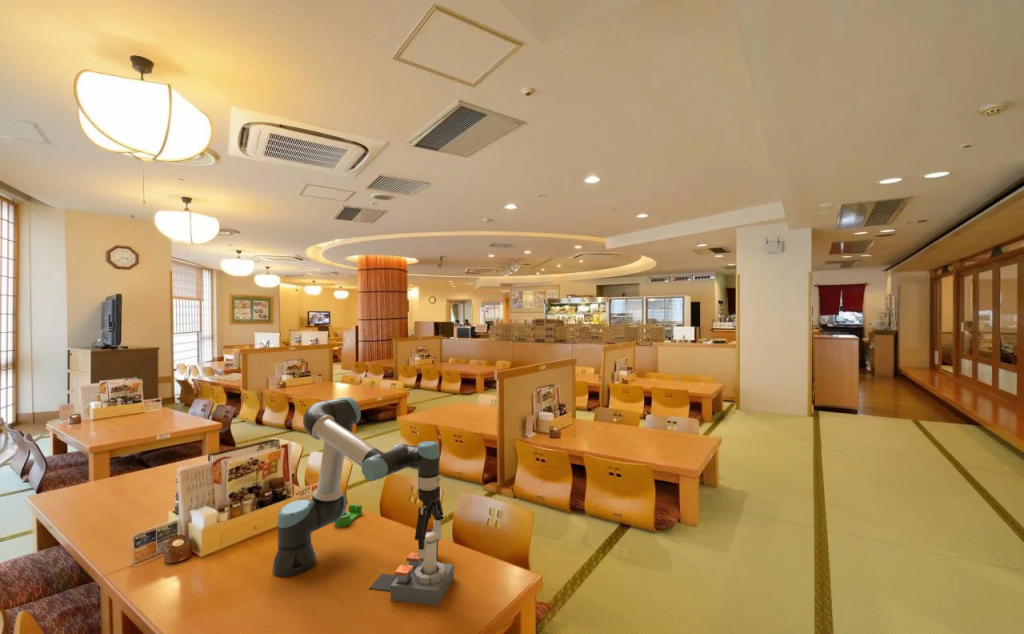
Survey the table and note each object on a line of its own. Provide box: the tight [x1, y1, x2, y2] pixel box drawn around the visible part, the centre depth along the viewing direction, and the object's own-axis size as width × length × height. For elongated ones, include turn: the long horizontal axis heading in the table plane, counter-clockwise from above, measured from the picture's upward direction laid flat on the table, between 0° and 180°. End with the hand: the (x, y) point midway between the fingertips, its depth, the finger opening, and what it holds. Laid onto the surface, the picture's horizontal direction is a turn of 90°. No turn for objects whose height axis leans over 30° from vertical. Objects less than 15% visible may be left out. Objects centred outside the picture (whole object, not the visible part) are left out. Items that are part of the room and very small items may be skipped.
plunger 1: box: [394, 563, 413, 585], centre depth 150 cm, size 5×5×7 cm
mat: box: [368, 573, 398, 592], centre depth 157 cm, size 9×9×1 cm
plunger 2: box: [406, 550, 421, 570], centre depth 159 cm, size 5×5×7 cm
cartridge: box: [423, 531, 438, 575], centre depth 153 cm, size 5×5×14 cm
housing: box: [390, 561, 455, 607], centre depth 153 cm, size 17×16×7 cm
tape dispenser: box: [333, 503, 363, 528], centre depth 209 cm, size 15×7×5 cm, turn 167°
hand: (430, 547), depth 153 cm, fingers open, 13 cm apart
